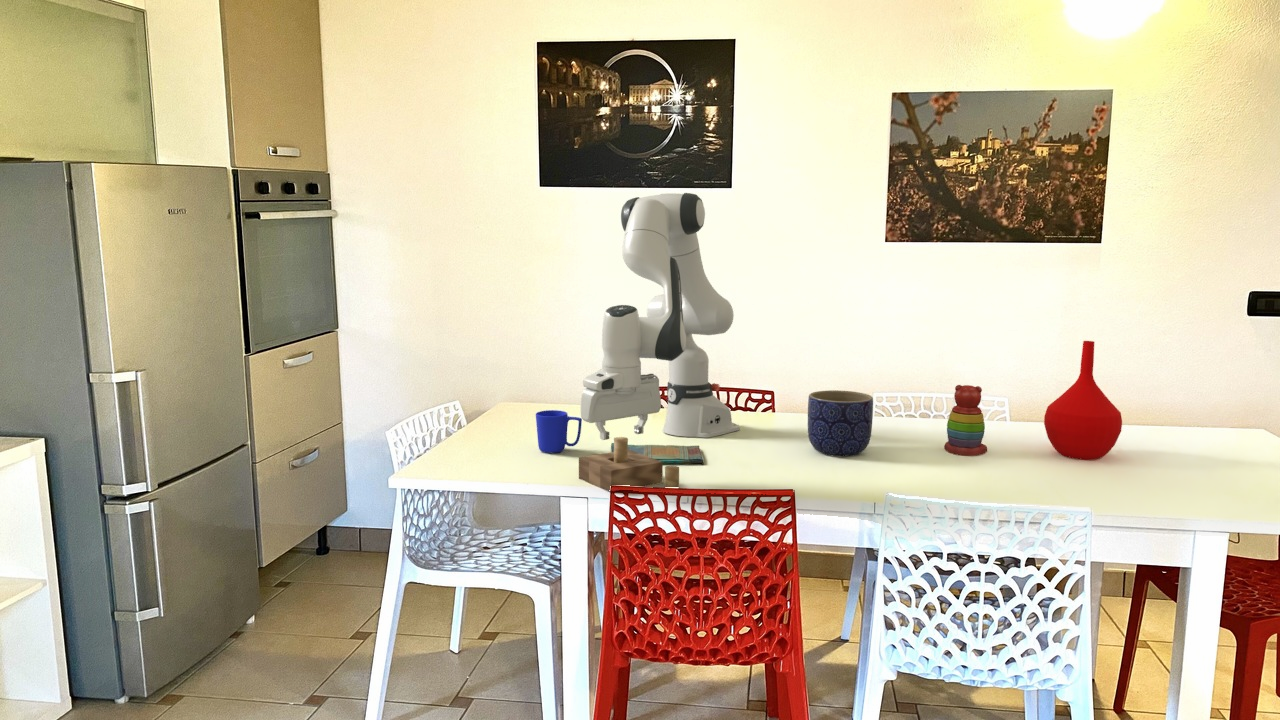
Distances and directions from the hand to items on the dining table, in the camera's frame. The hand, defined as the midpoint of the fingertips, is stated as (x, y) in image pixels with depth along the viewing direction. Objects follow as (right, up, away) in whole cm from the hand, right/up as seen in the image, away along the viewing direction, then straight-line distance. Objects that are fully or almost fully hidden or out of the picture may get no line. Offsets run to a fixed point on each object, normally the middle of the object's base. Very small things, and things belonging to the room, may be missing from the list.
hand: (621, 436), depth 224 cm
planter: (+56, -7, +30) cm, 64 cm away
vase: (+118, -7, +28) cm, 122 cm away
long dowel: (0, -10, +1) cm, 10 cm away
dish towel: (+8, -8, +24) cm, 26 cm away
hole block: (0, -10, +1) cm, 10 cm away
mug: (-17, -6, +28) cm, 34 cm away
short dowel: (+11, -11, -5) cm, 17 cm away
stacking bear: (+89, -7, +31) cm, 95 cm away
